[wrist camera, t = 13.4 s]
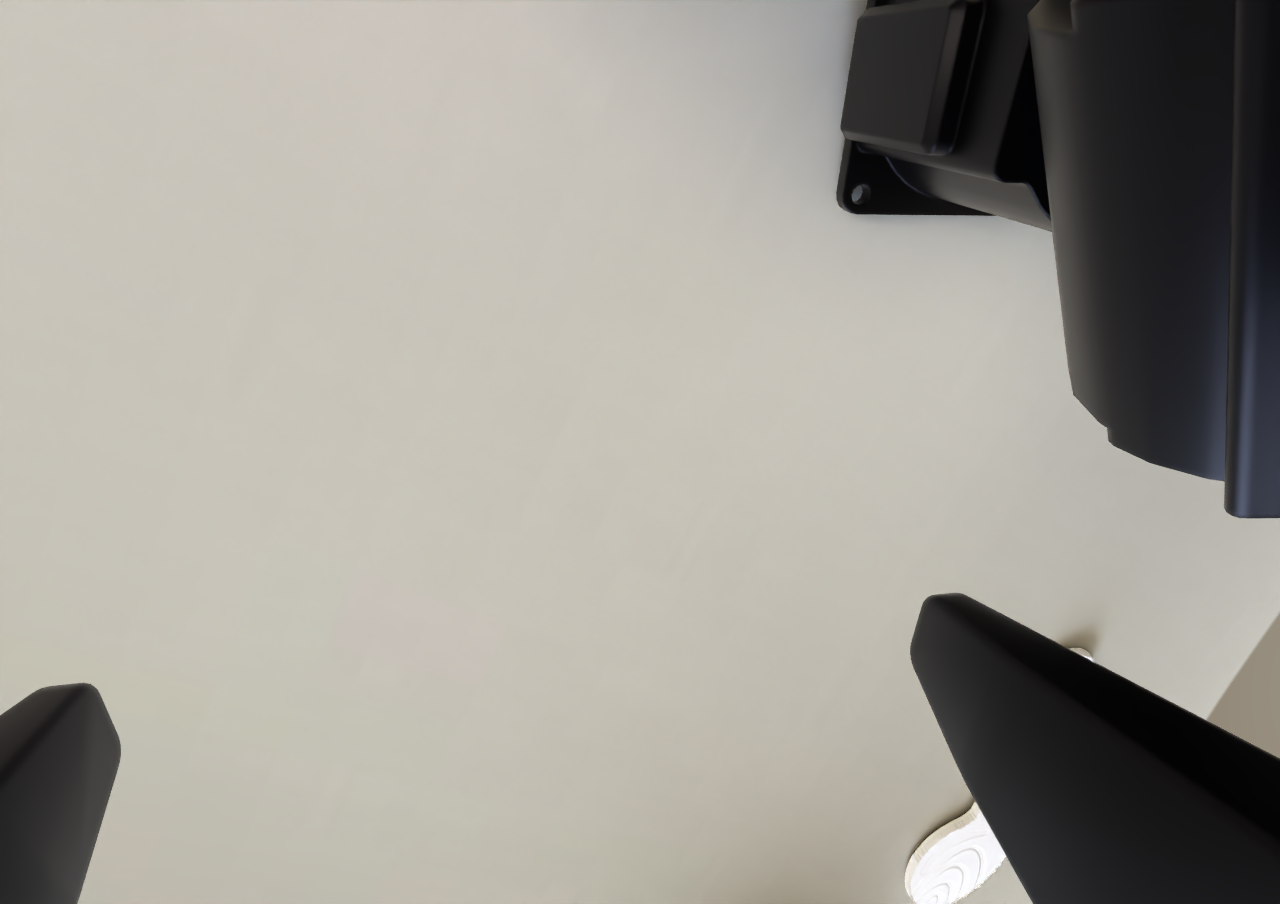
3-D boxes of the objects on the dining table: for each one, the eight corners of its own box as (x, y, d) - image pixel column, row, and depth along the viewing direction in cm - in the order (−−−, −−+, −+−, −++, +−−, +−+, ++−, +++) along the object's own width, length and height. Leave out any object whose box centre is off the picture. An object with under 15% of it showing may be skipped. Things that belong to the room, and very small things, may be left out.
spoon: (1124, 647, 31) (1134, 655, 31) (970, 896, 39) (976, 906, 39) (1023, 648, 30) (1031, 657, 29) (885, 906, 38) (889, 916, 37)
